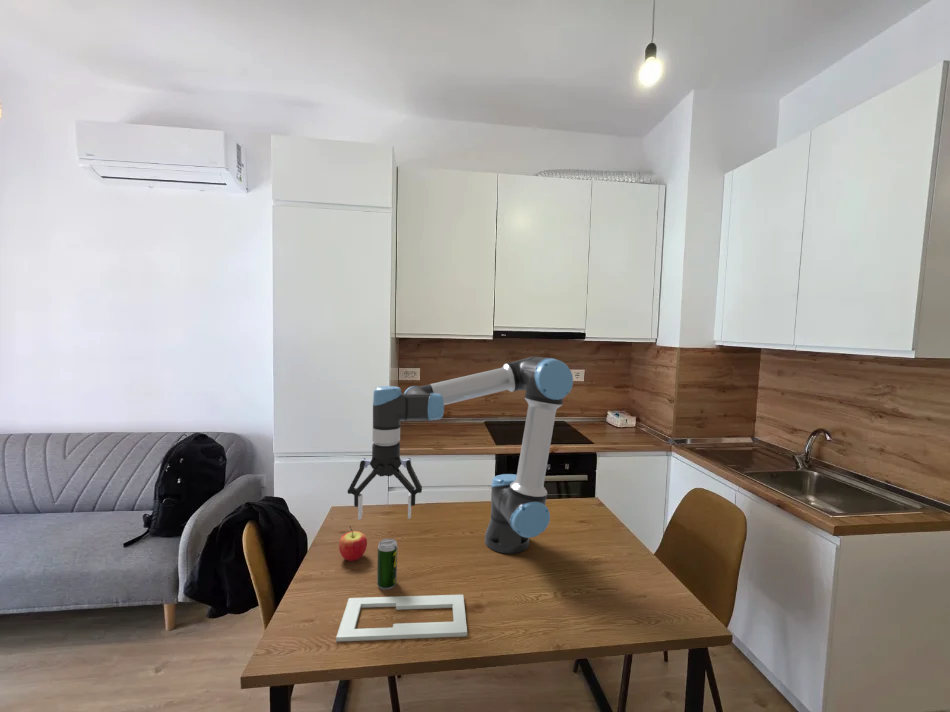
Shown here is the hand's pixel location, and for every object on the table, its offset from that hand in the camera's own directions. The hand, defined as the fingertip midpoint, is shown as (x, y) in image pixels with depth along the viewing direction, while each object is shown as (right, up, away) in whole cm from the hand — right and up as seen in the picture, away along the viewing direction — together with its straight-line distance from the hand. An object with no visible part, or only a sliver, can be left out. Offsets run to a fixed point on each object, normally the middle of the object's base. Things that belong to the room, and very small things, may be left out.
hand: (384, 517), depth 116 cm
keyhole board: (+8, -20, -13) cm, 25 cm away
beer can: (0, -19, 0) cm, 19 cm away
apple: (-13, -18, +13) cm, 26 cm away
